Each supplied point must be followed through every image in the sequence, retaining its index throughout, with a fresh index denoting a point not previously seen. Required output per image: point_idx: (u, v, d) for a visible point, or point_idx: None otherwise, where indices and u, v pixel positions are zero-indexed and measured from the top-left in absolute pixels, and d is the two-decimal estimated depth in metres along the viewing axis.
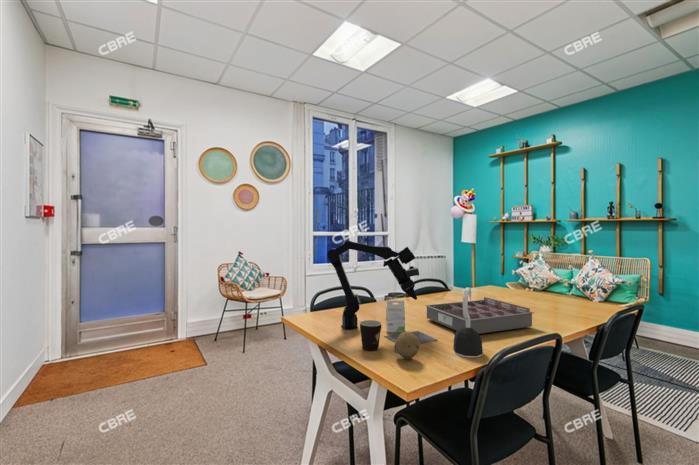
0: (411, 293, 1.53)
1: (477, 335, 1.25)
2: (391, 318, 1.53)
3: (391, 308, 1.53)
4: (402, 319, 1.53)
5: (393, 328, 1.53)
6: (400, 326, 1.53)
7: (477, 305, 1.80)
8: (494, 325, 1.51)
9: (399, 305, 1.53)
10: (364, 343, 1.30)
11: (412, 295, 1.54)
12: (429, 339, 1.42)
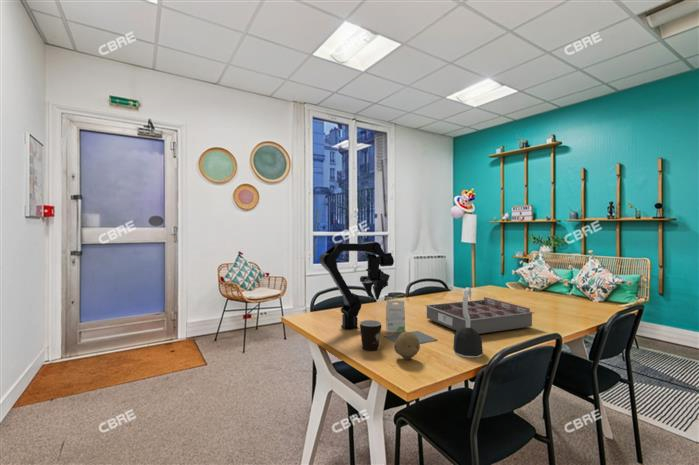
0: (377, 292, 1.61)
1: (477, 335, 1.25)
2: (391, 318, 1.53)
3: (391, 308, 1.53)
4: (402, 319, 1.53)
5: (393, 328, 1.53)
6: (400, 326, 1.53)
7: (477, 305, 1.80)
8: (494, 325, 1.51)
9: (399, 305, 1.53)
10: (364, 343, 1.30)
11: (377, 294, 1.62)
12: (429, 339, 1.42)
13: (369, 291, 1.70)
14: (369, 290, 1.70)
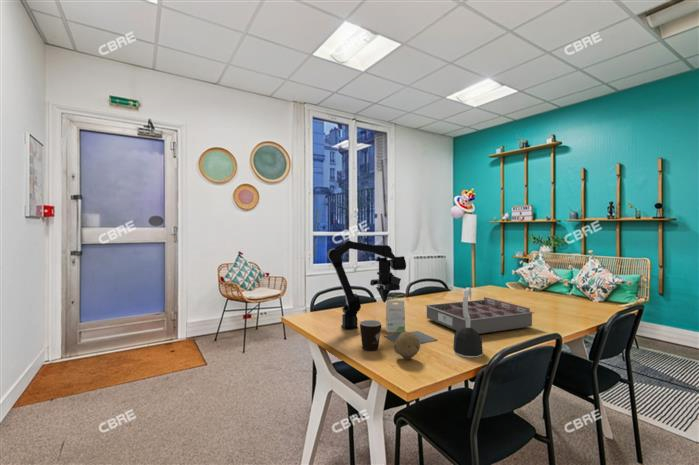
0: (385, 295, 1.63)
1: (477, 335, 1.25)
2: (391, 318, 1.53)
3: (391, 308, 1.53)
4: (402, 319, 1.53)
5: (393, 328, 1.53)
6: (400, 326, 1.53)
7: (477, 305, 1.80)
8: (494, 324, 1.51)
9: (399, 305, 1.53)
10: (364, 343, 1.30)
11: (384, 297, 1.63)
12: (429, 339, 1.42)
13: None
14: None
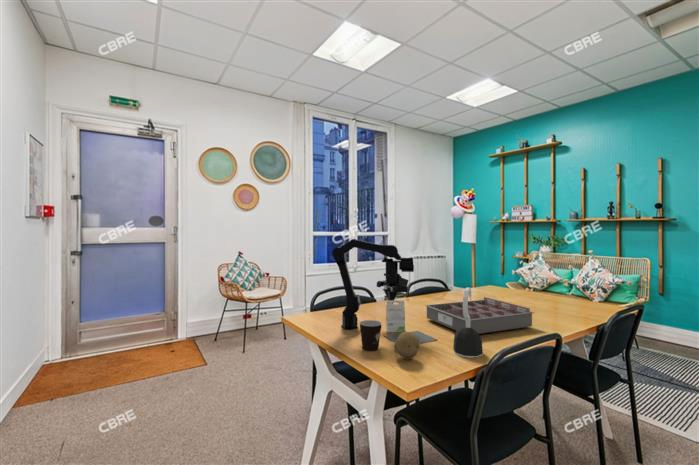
0: (392, 297, 1.57)
1: (477, 335, 1.25)
2: (391, 318, 1.53)
3: (391, 308, 1.53)
4: (402, 319, 1.53)
5: (393, 328, 1.53)
6: (400, 326, 1.53)
7: (477, 305, 1.80)
8: (494, 324, 1.51)
9: (400, 305, 1.53)
10: (364, 343, 1.30)
11: (391, 299, 1.57)
12: (429, 339, 1.42)
13: None
14: None
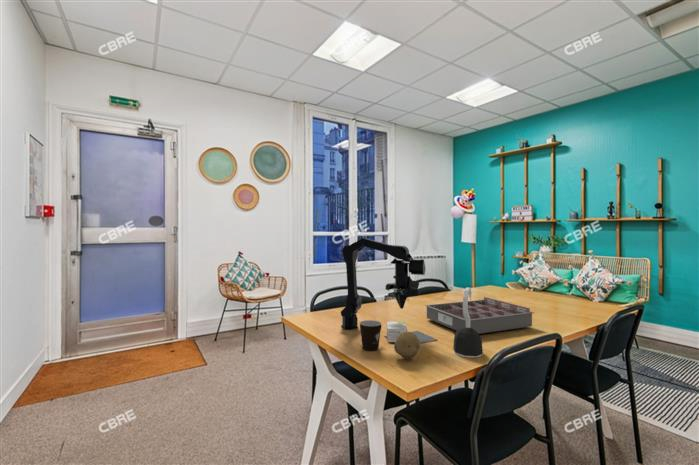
0: (402, 300, 1.49)
1: (477, 335, 1.25)
2: None
3: None
4: None
5: None
6: None
7: (477, 305, 1.80)
8: (494, 324, 1.51)
9: None
10: (364, 343, 1.30)
11: (402, 302, 1.50)
12: (429, 339, 1.42)
13: None
14: None
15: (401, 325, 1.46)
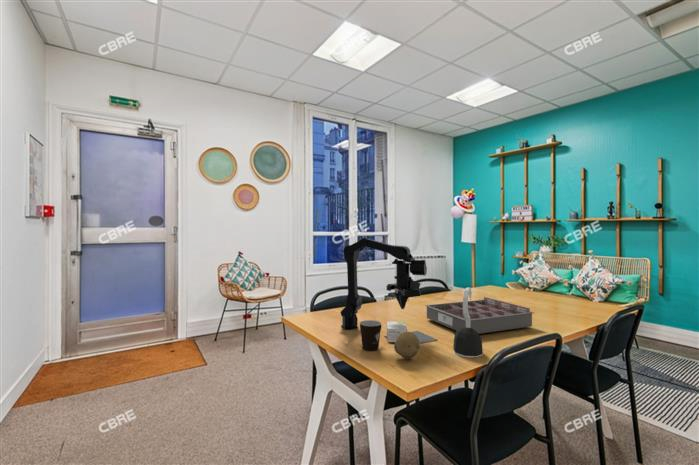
0: (403, 301, 1.49)
1: (477, 335, 1.25)
2: None
3: None
4: None
5: None
6: None
7: (477, 305, 1.80)
8: (494, 324, 1.51)
9: None
10: (364, 343, 1.30)
11: (403, 303, 1.49)
12: (429, 339, 1.42)
13: None
14: None
15: (401, 325, 1.46)
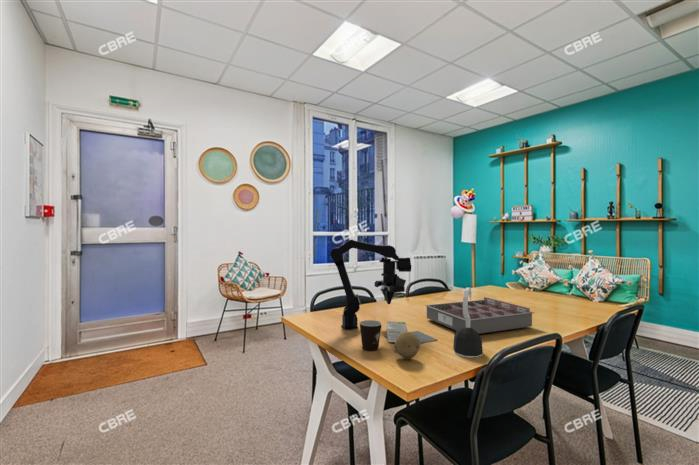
0: (389, 296, 1.59)
1: (477, 335, 1.25)
2: None
3: None
4: None
5: None
6: None
7: (477, 305, 1.80)
8: (494, 324, 1.51)
9: None
10: (364, 343, 1.30)
11: (389, 298, 1.59)
12: (429, 339, 1.42)
13: None
14: None
15: (401, 325, 1.46)
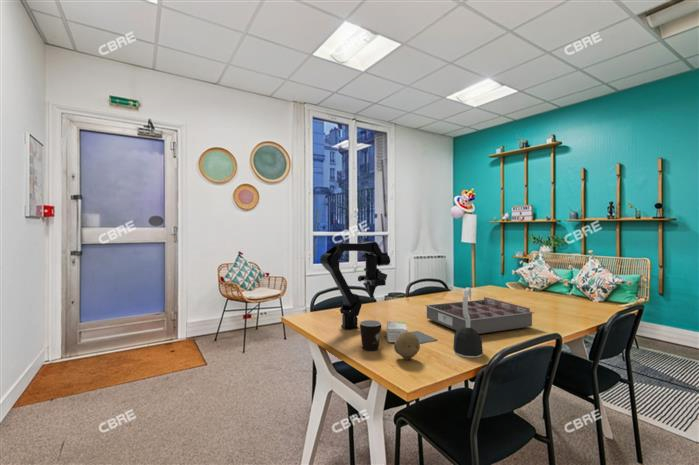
0: (371, 290, 1.67)
1: (477, 335, 1.25)
2: None
3: None
4: None
5: None
6: None
7: (477, 305, 1.80)
8: (494, 324, 1.51)
9: None
10: (364, 343, 1.30)
11: (371, 292, 1.67)
12: (429, 339, 1.42)
13: None
14: None
15: (401, 325, 1.46)
